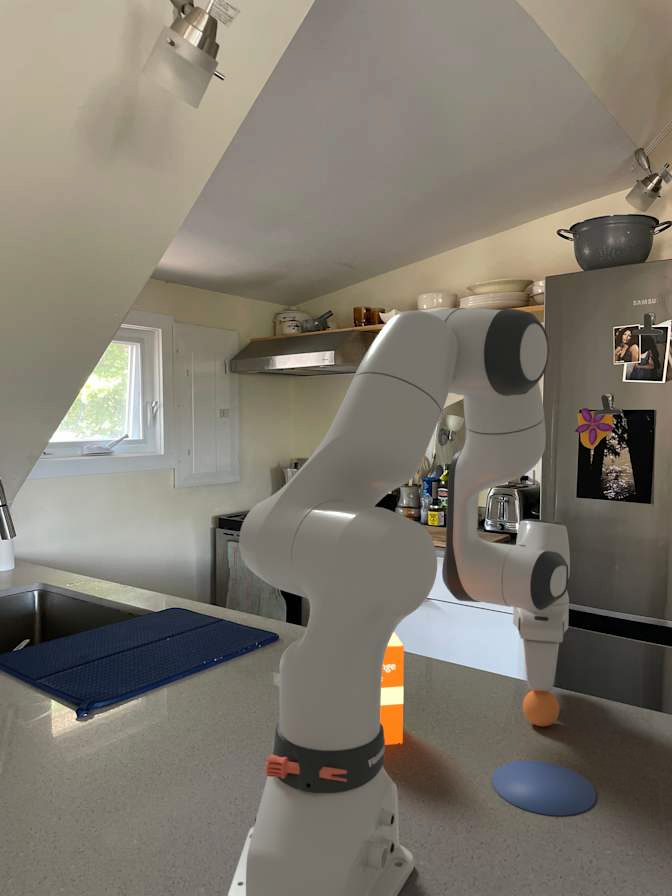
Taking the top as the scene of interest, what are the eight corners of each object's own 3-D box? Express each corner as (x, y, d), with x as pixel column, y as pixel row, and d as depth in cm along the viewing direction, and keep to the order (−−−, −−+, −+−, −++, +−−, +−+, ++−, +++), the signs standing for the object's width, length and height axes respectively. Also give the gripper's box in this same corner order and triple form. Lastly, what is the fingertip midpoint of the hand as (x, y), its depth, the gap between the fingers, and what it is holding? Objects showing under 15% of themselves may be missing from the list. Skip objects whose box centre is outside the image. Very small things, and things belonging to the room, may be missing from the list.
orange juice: (352, 748, 101) (353, 612, 100) (339, 721, 110) (340, 596, 109) (404, 743, 103) (405, 609, 102) (387, 717, 111) (388, 594, 110)
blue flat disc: (600, 823, 83) (600, 821, 83) (489, 805, 86) (489, 804, 86) (591, 769, 95) (591, 768, 95) (494, 756, 99) (494, 755, 99)
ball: (559, 734, 106) (560, 699, 106) (522, 730, 107) (523, 695, 107) (558, 719, 111) (559, 685, 111) (522, 715, 113) (523, 681, 112)
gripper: (521, 598, 127) (519, 673, 127) (520, 631, 107) (518, 719, 108) (557, 601, 125) (555, 677, 126) (563, 635, 105) (560, 725, 106)
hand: (538, 697), depth 117 cm, fingers closed
